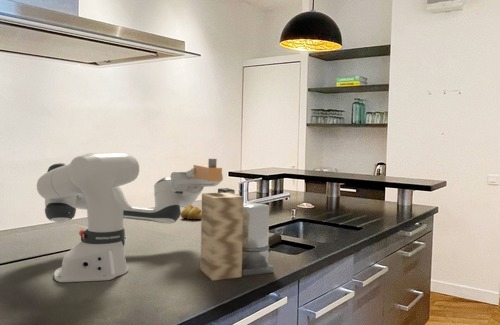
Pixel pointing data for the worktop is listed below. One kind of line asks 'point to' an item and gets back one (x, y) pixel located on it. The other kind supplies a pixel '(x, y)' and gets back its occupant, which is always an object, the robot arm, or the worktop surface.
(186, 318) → the worktop surface
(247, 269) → the motor housing
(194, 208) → the bread roll
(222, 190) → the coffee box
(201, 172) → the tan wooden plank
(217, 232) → the zigzag patterned pillar
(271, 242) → the hand tool
